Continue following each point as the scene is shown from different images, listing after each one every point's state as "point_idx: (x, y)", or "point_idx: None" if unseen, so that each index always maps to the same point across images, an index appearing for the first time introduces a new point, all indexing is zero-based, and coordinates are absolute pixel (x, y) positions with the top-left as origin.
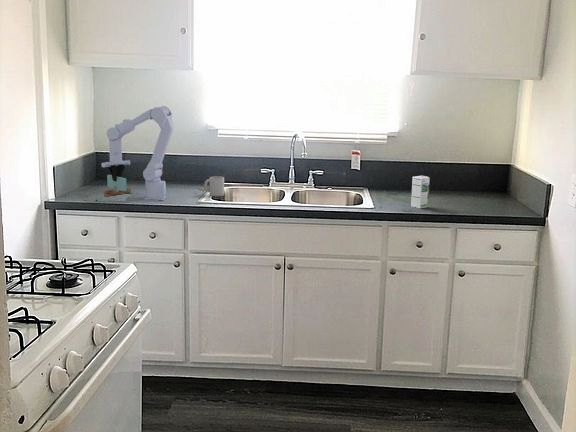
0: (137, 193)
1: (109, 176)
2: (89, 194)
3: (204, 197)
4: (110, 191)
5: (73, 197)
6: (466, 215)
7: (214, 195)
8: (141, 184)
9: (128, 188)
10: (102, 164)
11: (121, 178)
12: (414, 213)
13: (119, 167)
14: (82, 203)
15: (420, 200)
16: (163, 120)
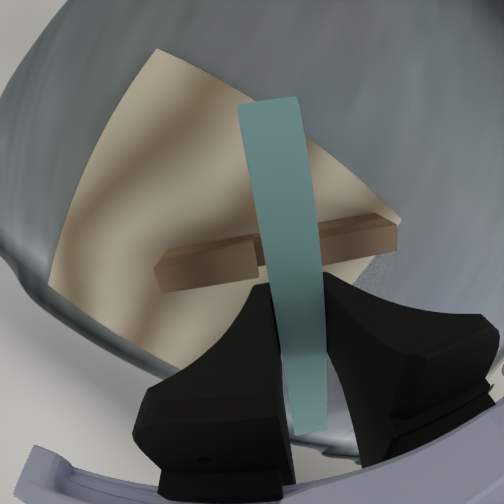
0: (426, 199)
1: (250, 176)
2: (133, 63)
3: (485, 378)
4: (208, 283)
5: (35, 133)
6: None
7: (502, 372)
8: (489, 16)
9: (379, 252)
10: (41, 493)
11: (292, 419)
12: None
13: (370, 456)
14: (57, 310)
15: None
16: None
